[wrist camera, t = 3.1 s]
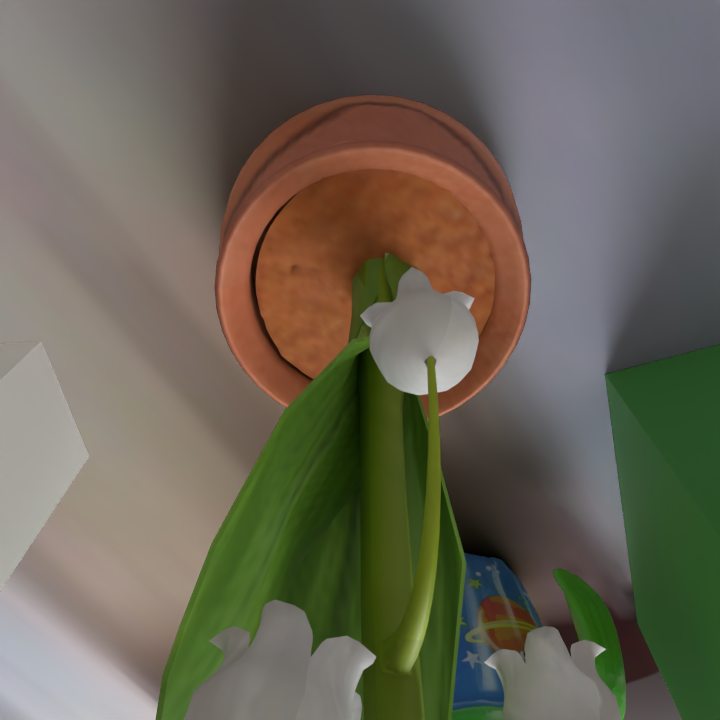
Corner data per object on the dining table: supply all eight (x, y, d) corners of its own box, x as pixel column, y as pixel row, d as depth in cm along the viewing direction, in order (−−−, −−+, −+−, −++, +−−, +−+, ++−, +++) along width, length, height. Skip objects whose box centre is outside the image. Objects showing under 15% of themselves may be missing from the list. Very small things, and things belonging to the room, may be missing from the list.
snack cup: (419, 687, 35) (438, 904, 26) (287, 617, 32) (259, 841, 23) (629, 563, 29) (743, 792, 21) (496, 460, 26) (565, 683, 17)
